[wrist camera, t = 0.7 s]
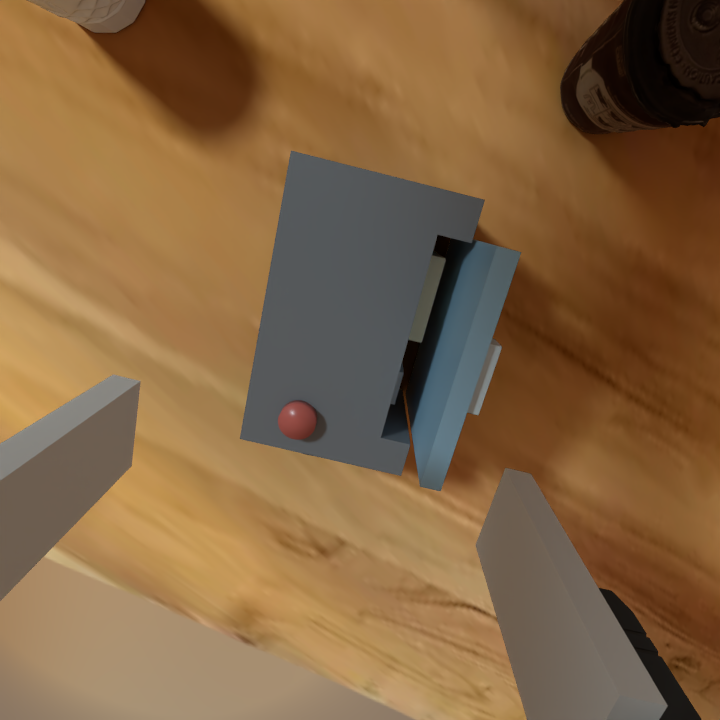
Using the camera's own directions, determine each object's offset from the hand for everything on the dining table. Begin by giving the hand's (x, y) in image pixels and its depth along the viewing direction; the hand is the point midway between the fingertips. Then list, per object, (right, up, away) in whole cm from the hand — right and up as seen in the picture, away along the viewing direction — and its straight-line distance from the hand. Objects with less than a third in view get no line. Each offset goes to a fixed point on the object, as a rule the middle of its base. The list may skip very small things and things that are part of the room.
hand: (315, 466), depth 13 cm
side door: (+8, +6, +24) cm, 26 cm away
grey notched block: (+1, +8, +25) cm, 26 cm away
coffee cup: (+18, +22, +20) cm, 35 cm away
